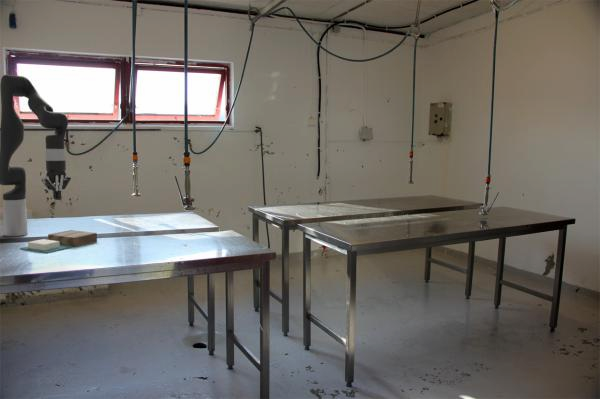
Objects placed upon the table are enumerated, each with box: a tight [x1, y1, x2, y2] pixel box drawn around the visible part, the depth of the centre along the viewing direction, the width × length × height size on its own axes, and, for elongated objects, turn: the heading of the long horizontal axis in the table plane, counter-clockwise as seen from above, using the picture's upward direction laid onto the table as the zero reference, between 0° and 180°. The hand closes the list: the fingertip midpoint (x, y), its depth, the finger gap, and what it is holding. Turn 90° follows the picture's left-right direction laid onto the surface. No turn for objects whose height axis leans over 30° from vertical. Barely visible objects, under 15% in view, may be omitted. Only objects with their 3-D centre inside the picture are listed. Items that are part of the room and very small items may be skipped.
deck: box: [47, 229, 98, 248], centre depth 205 cm, size 16×12×4 cm
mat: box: [19, 245, 74, 254], centre depth 193 cm, size 16×12×1 cm
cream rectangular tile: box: [27, 238, 60, 250], centre depth 192 cm, size 10×7×2 cm
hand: (57, 199), depth 199 cm, fingers closed
